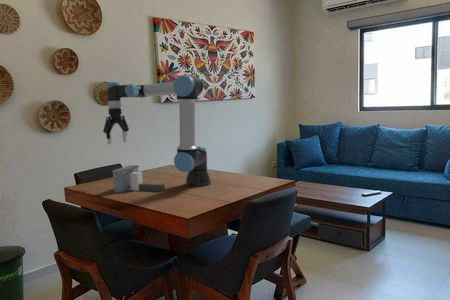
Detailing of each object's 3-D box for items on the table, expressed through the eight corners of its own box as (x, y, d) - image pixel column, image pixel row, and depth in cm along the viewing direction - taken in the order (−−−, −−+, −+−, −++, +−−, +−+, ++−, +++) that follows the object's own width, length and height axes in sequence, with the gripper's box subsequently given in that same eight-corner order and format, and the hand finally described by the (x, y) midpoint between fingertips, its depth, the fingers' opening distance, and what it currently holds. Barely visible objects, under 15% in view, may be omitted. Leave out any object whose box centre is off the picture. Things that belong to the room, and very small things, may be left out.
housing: (140, 185, 231) (138, 165, 229) (122, 192, 214) (120, 170, 212) (131, 185, 233) (129, 165, 231) (113, 192, 216) (111, 170, 215)
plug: (165, 189, 217) (164, 172, 216) (161, 191, 213) (160, 174, 211) (135, 188, 224) (134, 171, 223) (130, 190, 220) (129, 173, 218)
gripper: (123, 107, 241) (126, 140, 243) (94, 108, 218) (98, 145, 221) (132, 107, 237) (135, 140, 240) (104, 108, 215) (108, 145, 217)
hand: (117, 142), depth 230 cm, fingers open, 13 cm apart
